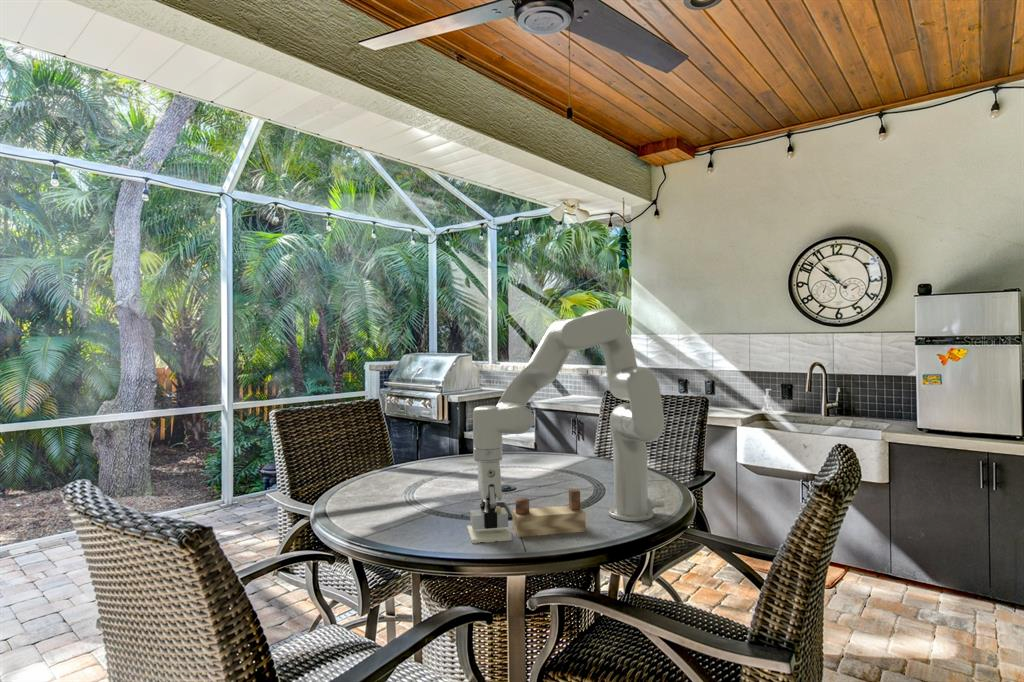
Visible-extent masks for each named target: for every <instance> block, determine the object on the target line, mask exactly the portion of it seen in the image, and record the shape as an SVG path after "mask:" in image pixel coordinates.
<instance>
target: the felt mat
mask: <svg viewBox="0 0 1024 682" xmlns="http://www.w3.org/2000/svg"><path fill="white" fill-rule="evenodd" d="M466 530H468V531H467V532H468V533H469V534H468V533H467V534H468V535H470V536H469V539H470V538H471V539H470V541H472V542H471V543H473V544H481V543H480V542H485V543H496V542H495V541H498V542H506V541H509V540H510V541H513V536H512V534H511V533H510V531H509V529H508V527H505V528H493V529H481V530H473V529H472V526H471V524H470V525H466ZM510 541H509V542H510ZM478 542H479V543H478Z"/></svg>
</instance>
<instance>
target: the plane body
mask: <svg viewBox="0 0 1024 682" xmlns="http://www.w3.org/2000/svg"><path fill="white" fill-rule="evenodd" d="M511 514H512V530H513V531H514V533H515V535H516V534H517V535H516V536H517V537H518V538H521V537H522V538H523V537H524V536H525V537H534V535H535V537H536V535H537V536H546V535H547V536H548V535H549V534H550V535H559V534H570V533H571V534H573V533H583V532H587V531H586V529H587V528H586V524H587V523H586V512H585V510H583V509H582V508H581V490H579V488H571V489H568V505H559V506H546V507H544V506H543V507H533V508H530V498H528V497H517V498H515V509H512V513H511Z"/></svg>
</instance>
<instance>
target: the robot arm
mask: <svg viewBox="0 0 1024 682" xmlns="http://www.w3.org/2000/svg"><path fill="white" fill-rule="evenodd" d="M628 323H629V322H628V318H627V316H626V314H625V313H624V312H623V311H622V310H620V309H618V308H615V307H608V308H597V309H591V310H588V311H585V312H584V313H583V314H582V315H581V316H579V317H572V318H562V319H556V320H554V321H553V322H552V323H551V324H549V326H548V328H547V330H546V331H545V332H544V335H543V336H542V338H541V339H540V341H539V342H538V345H537V347H536V349H535V350H534V351H533V354H532V355H531V358H530V359H529V360H528V362H527V363H526V365H525V366H524V367H523V368H522V369H521V370H520V371H519V373H518V374H517V375H516V376H515V377H514V378H513V379H512V380H511V382H510V383H509V384H508V385H507V387H506V388H505V390H504V392H503V393H502V395H501V397H500V398H499V400H498V402H497V404H496V405H480V406H477V407H475V408H473V411H472V444H473V445H472V451H473V452H472V453H473V461H474V462H476V463H477V485H478V486H477V487H478V493H479V496H480V497H481V499H480V500H481V502H480V504H481V505H483V506H481V508H480V509H484V507H485V511H486V512H484V521H485V528H486V529H490V528H497V506H496V502H497V500H498V501H499V502H501V500H502V499H503V496H502V495H503V493H502V492H503V491H502V473H501V465H500V462H501V461H503V434H510V435H511V434H512V435H522V434H525V433H526V432H528V431H530V430H531V428H533V425H534V423H535V417H534V415H533V412H532V410H530V409H529V408H528V407H527V406H526V405H527V404H528V402H529V401H530V399H532V398H533V396H534V395H535V394H536V393H537V392H539V391H540V390H541V389H543V388H545V387H547V386H549V385H550V384H552V383H553V382H554V381H555V380H556V378H557V377H558V375H559V373H560V371H561V370H562V368H563V366H564V364H565V362H566V361H567V359H568V357H569V356H570V354H571V352H573V351H575V352H576V351H582V350H586V349H591V348H594V347H597V346H599V347H600V349H601V351H602V355H603V357H604V362H605V369H606V375H607V383H608V387H609V391H610V393H611V395H612V396H613V397H615V398H617V399H619V400H623V401H629V403H628V402H627V403H625V402H624V403H620V404H618V405H616V406H615V407H614V408H613V409H612V412H611V413H610V416H609V429H610V435H611V439H612V450H613V451H612V452H613V453H612V454H613V455H612V456H613V458H612V459H613V462H612V464H613V506H611V507H610V508H609V509H608V515H609V516H610V517H611V518H614V519H616V520H621V521H626V522H627V521H628V522H643V521H648V520H652V518H654V517H655V516H654V515H655V512H654V509H655V508H665V501H664V500H662V499H661V500H656V499H650V498H649V482H648V480H649V478H648V475H649V474H648V472H649V471H648V469H649V468H648V458H649V457H648V448H647V443H652V442H655V441H657V440H658V439H659V438H660V437H662V435H663V432H664V431H665V415H664V407H663V400H662V394H661V389H660V383H659V380H658V378H657V376H656V375H655V373H654V372H653V371H651V370H650V369H649V368H645V367H642V366H638V363H637V358H636V354H635V349H634V346H633V342H632V339H631V338H630V336H629V335H628V333H627V330H628V325H629V324H628Z"/></svg>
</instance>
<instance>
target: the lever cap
mask: <svg viewBox="0 0 1024 682" xmlns="http://www.w3.org/2000/svg"><path fill="white" fill-rule="evenodd" d="M469 512H470V513H469V514H470V517H469V520H470V525H471V526H472V529H473V530H481V529H486V528H485V521H484V512H486V511H485V507H484V509H481V508H479V509H470V511H469ZM505 527H507V528H508V527H509V520H508V513H507V511H506V510H505V508H500V506H497V528H505ZM490 529H493V528H490Z"/></svg>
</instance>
